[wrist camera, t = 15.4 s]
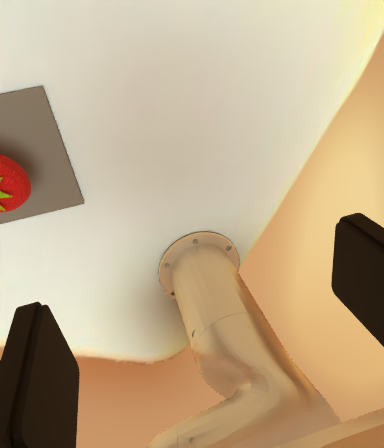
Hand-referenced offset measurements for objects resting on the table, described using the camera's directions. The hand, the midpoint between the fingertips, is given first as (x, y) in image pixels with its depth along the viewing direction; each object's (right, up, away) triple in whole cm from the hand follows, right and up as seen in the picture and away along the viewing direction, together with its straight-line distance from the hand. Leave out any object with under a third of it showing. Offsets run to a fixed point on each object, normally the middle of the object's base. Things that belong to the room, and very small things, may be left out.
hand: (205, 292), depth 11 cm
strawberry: (-22, +9, +28) cm, 36 cm away
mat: (-22, +9, +28) cm, 37 cm away
